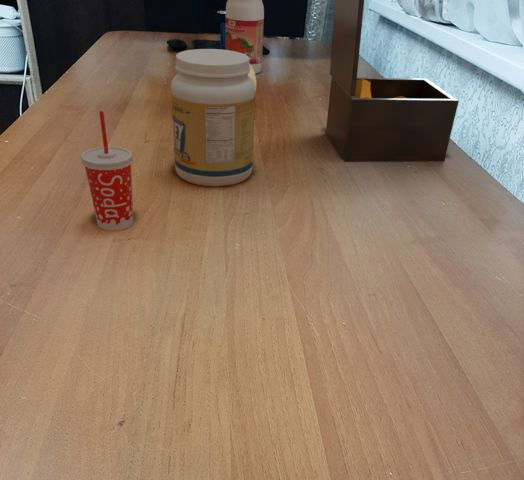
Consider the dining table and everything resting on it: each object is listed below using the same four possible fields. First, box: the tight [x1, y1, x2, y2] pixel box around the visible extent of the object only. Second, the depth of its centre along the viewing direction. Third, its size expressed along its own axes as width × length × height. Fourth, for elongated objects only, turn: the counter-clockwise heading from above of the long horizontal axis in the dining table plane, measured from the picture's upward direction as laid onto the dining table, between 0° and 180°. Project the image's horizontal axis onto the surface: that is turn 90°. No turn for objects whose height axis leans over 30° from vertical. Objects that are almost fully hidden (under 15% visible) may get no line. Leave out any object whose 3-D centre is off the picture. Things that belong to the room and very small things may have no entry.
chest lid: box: [329, 0, 365, 96], centre depth 90 cm, size 18×15×5 cm
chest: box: [325, 76, 460, 162], centre depth 101 cm, size 18×15×10 cm
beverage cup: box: [80, 110, 134, 232], centre depth 70 cm, size 6×6×14 cm
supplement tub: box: [170, 48, 256, 187], centre depth 85 cm, size 12×12×17 cm
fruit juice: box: [225, 0, 265, 75], centre depth 139 cm, size 9×9×28 cm
